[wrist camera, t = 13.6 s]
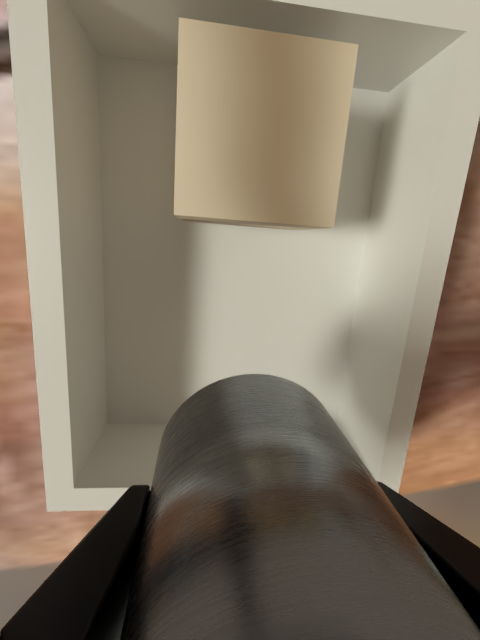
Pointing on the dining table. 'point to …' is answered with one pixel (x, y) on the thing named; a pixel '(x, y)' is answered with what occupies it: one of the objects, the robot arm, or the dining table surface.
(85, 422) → the tote
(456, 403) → the dining table surface
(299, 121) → the wood cube
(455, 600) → the metal cylinder
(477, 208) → the dining table surface
